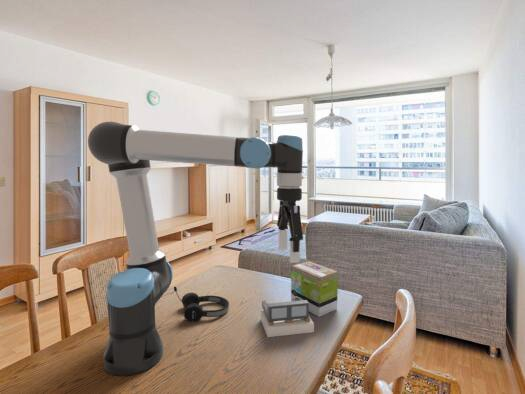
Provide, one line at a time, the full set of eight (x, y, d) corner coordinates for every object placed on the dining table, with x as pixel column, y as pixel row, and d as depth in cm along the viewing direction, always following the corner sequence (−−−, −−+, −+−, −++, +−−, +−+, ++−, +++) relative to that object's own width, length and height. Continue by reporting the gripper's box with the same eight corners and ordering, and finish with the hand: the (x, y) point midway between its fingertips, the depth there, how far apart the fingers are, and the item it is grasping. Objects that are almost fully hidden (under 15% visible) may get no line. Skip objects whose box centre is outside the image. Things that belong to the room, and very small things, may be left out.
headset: (173, 281, 114) (226, 280, 120) (171, 306, 114) (224, 304, 121) (174, 295, 101) (234, 294, 107) (172, 324, 102) (231, 320, 108)
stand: (260, 319, 105) (260, 308, 105) (302, 315, 108) (302, 304, 108) (267, 337, 94) (267, 324, 94) (313, 332, 97) (314, 319, 97)
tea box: (290, 302, 118) (290, 265, 117) (308, 295, 124) (309, 260, 123) (319, 318, 106) (319, 276, 105) (338, 309, 112) (339, 270, 111)
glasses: (261, 306, 106) (261, 292, 106) (298, 302, 109) (298, 289, 108) (268, 322, 95) (268, 307, 95) (308, 318, 98) (309, 303, 97)
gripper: (315, 190, 82) (314, 267, 84) (289, 184, 106) (289, 244, 109) (288, 190, 81) (287, 269, 83) (268, 184, 105) (268, 245, 107)
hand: (288, 255), depth 96 cm, fingers open, 13 cm apart
